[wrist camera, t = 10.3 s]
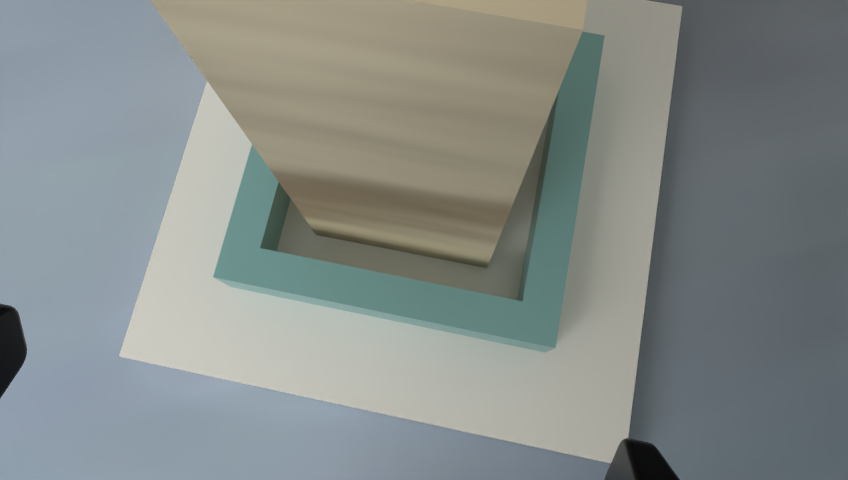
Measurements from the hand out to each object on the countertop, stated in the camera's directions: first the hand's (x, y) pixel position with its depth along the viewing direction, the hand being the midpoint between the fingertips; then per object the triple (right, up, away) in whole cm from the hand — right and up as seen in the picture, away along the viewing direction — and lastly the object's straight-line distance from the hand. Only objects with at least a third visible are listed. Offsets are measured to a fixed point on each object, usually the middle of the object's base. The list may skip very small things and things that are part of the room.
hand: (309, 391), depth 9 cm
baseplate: (+1, +4, +11) cm, 11 cm away
